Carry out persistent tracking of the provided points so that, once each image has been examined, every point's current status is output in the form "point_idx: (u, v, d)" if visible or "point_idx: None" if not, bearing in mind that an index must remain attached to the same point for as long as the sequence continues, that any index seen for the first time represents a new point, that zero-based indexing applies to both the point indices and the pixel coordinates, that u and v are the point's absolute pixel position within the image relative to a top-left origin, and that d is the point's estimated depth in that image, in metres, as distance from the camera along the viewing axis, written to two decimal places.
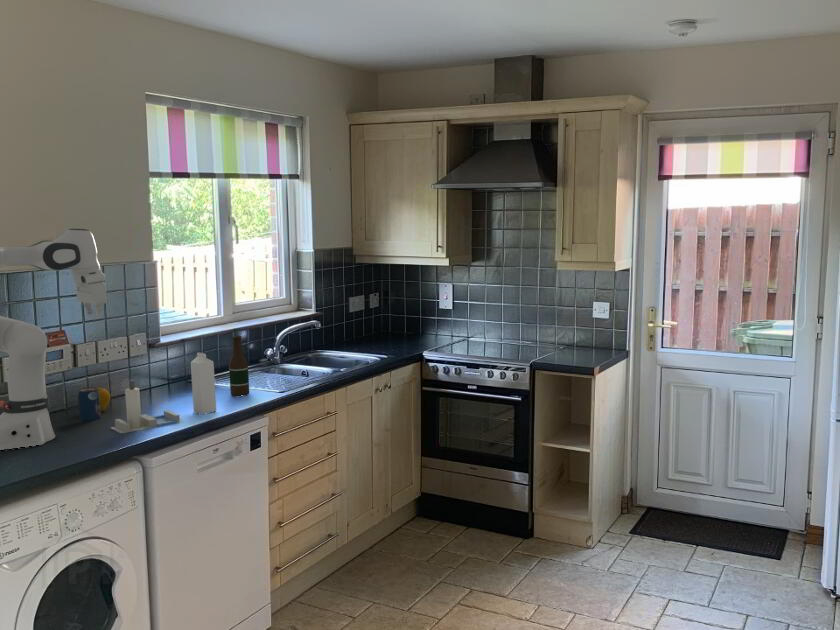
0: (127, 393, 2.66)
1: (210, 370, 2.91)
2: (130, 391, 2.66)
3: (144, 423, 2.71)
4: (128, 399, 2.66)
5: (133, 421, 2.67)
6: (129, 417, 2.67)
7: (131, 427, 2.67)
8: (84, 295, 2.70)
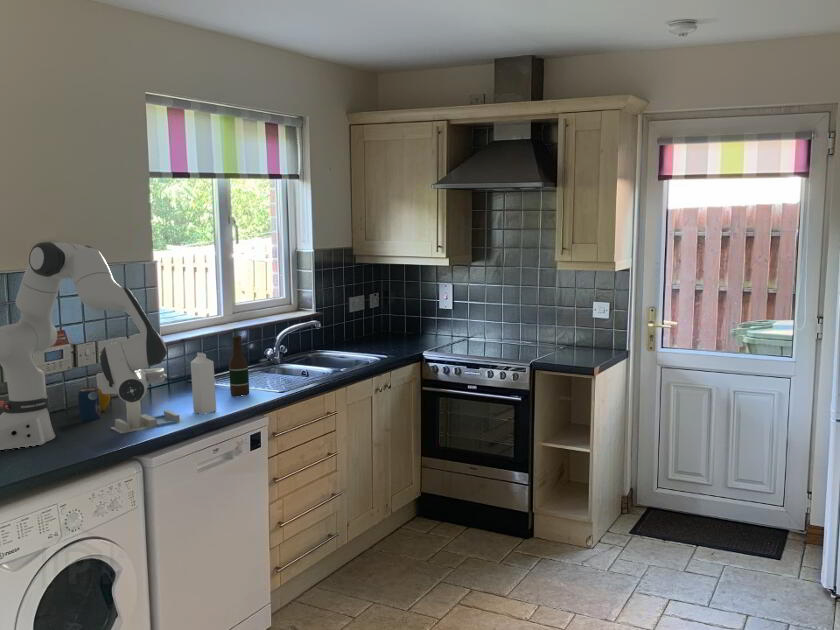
0: None
1: (210, 370, 2.91)
2: None
3: (144, 423, 2.71)
4: None
5: (133, 421, 2.67)
6: (129, 417, 2.67)
7: (131, 427, 2.67)
8: None
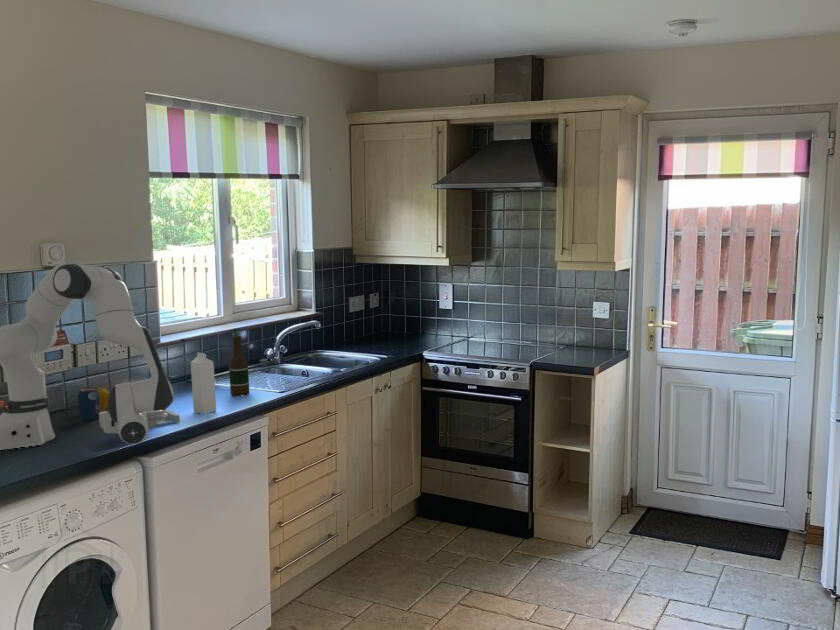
0: None
1: (210, 370, 2.91)
2: None
3: None
4: None
5: None
6: None
7: None
8: None
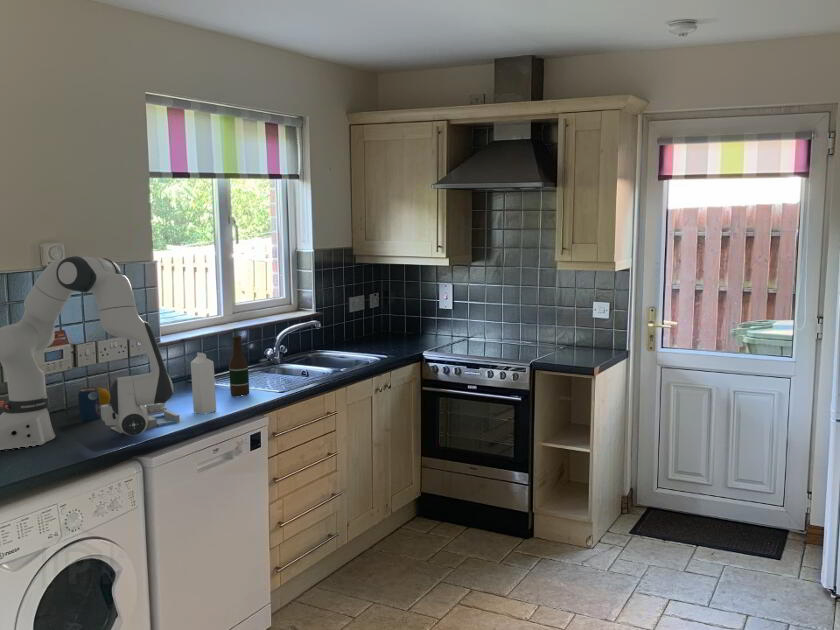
0: None
1: (210, 370, 2.91)
2: None
3: None
4: None
5: None
6: None
7: None
8: None
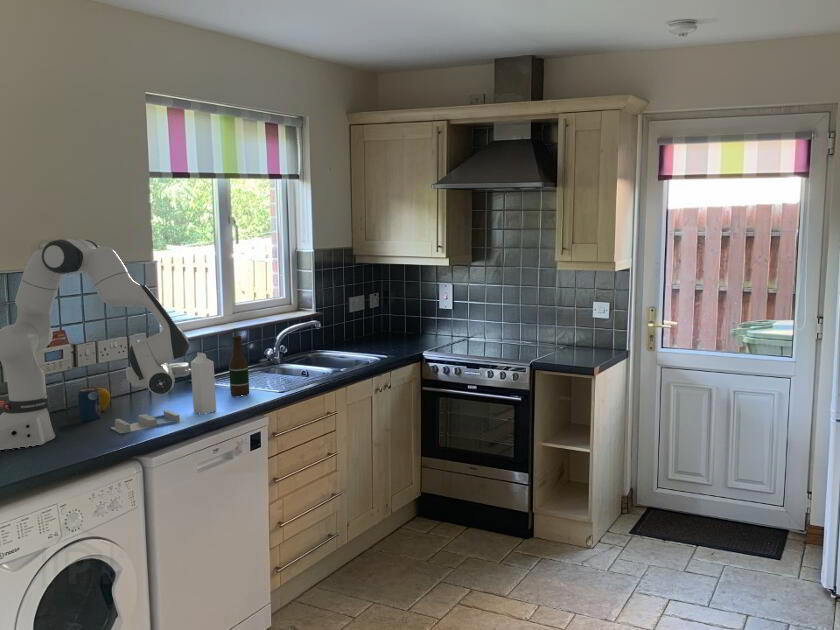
0: None
1: (210, 370, 2.91)
2: None
3: (144, 423, 2.71)
4: None
5: None
6: None
7: None
8: None
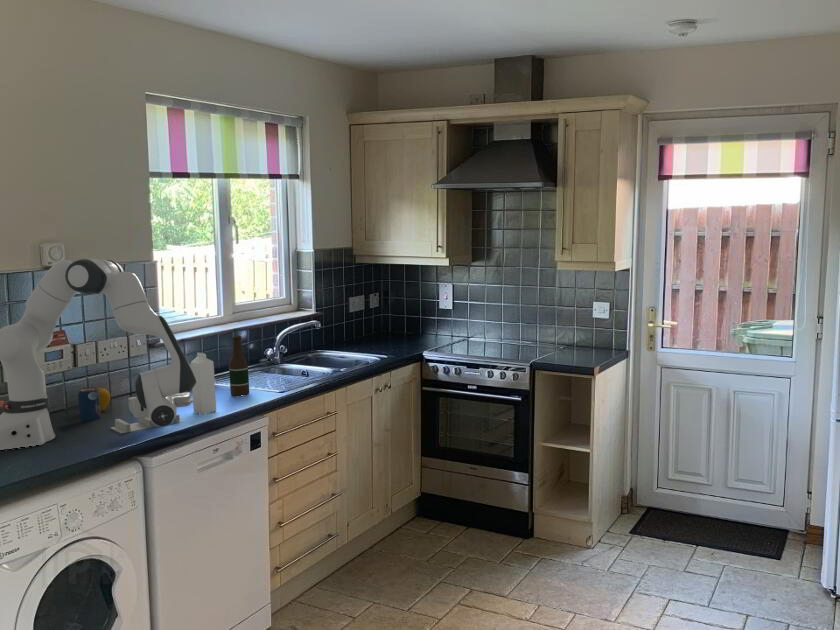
0: None
1: (210, 370, 2.91)
2: None
3: (144, 423, 2.71)
4: None
5: None
6: None
7: None
8: None
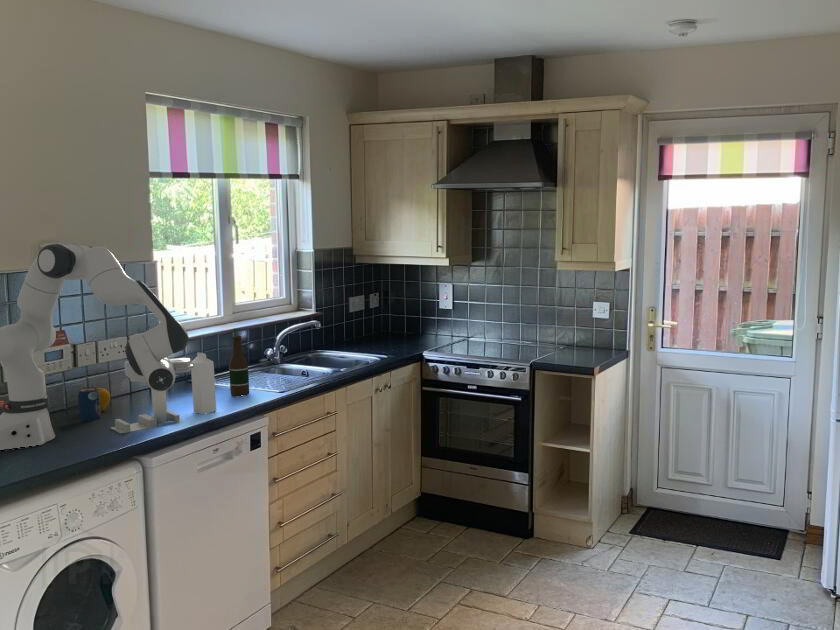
0: None
1: (210, 370, 2.91)
2: None
3: (144, 423, 2.71)
4: (154, 394, 2.71)
5: (160, 416, 2.72)
6: (156, 412, 2.72)
7: (158, 422, 2.73)
8: None
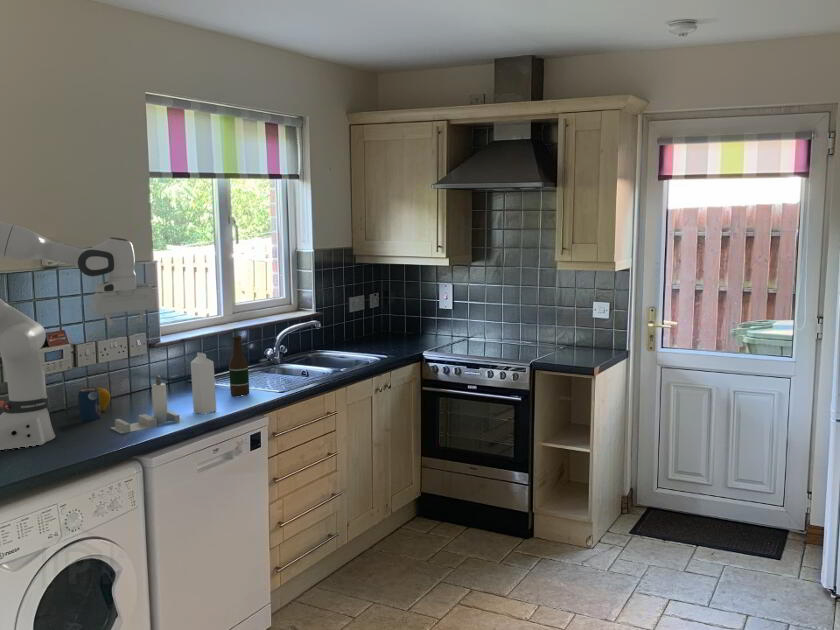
0: (154, 388, 2.71)
1: (210, 370, 2.91)
2: (157, 386, 2.71)
3: (144, 423, 2.71)
4: (155, 394, 2.72)
5: (160, 416, 2.72)
6: (156, 412, 2.72)
7: (158, 422, 2.73)
8: None
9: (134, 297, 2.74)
